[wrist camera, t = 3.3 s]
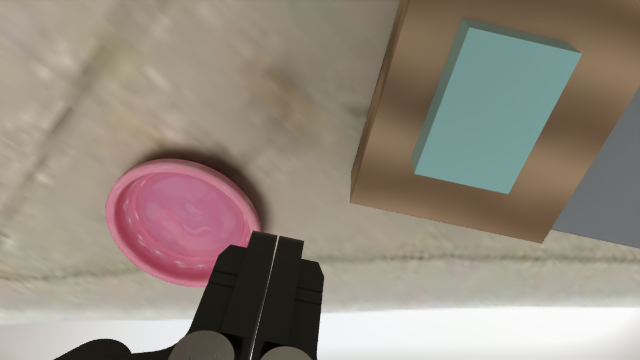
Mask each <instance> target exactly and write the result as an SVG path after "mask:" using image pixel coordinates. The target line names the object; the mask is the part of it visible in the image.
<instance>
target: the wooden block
mask: <svg viewBox="0 0 640 360" xmlns="http://www.w3.org/2000/svg"><path fill="white" fill-rule="evenodd" d="M462 18H466V19H470V20H474V21H479V22H483V23H487V24H491V25H496V26H500V27H504V28H509V29H513V30H517V31H521V32H526V33H530V34H534V35H539V36H543V37H547V38H551V39H556V40H560V41H564V42H568V43H569V44H571V45H572V46H573V47H574V48H576V49H577V50H578V51H580V52H581V53H582V55H581V57H580V59H579V61H578V63H577V65H576V67H575V69H574V71H573V72H572V74H571V76H570V78H569V80H568V82H567V84H566V86H565V88H564V90H563V91H562V93H561V95H560V97H559V99H558V101H557V103H556V105H555V107H554V109H553V110H552V112H551V114H550V116H549V118H548V120H547V122H546V124H545V126H544V127H543V129H542V131H541V133H540V135H539V137H538V139H537V141H536V143H535V145H534V146H533V148H532V150H531V152H530V154H529V156H528V158H527V160H526V162H525V164H524V165H523V167H522V169H521V171H520V173H519V175H518V177H517V179H516V181H515V183H514V184H513V186H512V188H511V190H510V192H509V194H505V193H500V192H496V191H491V190H486V189H482V188H477V187H473V186H468V185H463V184H459V183H454V182H450V181H445V180H440V179H436V178H431V177H427V176H422V175H417V174H414V170H413V164H412V158H411V157H412V155H413V152H414V149H415V146H416V144H417V141H418V138H419V135H420V133H421V130H422V127H423V124H424V122H425V119H426V116H427V113H428V111H429V108H430V105H431V102H432V100H433V97H434V94H435V91H436V89H437V86H438V83H439V80H440V78H441V75H442V72H443V69H444V67H445V64H446V61H447V58H448V56H449V53H450V50H451V47H452V45H453V42H454V39H455V36H456V34H457V31H458V28H459V25H460V23H461V20H462ZM639 86H640V0H401V1H400V4H399V8H398V11H397V15H396V18H395V22H394V25H393V29H392V32H391V36H390V39H389V43H388V46H387V50H386V53H385V57H384V60H383V64H382V67H381V71H380V74H379V78H378V81H377V85H376V88H375V92H374V95H373V99H372V102H371V106H370V109H369V113H368V116H367V120H366V123H365V127H364V130H363V134H362V137H361V141H360V144H359V148H358V151H357V155H356V158H355V162H354V165H353V169H352V172H351V192H350V203H354V204H359V205H363V206H368V207H373V208H377V209H382V210H387V211H391V212H396V213H401V214H406V215H410V216H415V217H420V218H424V219H429V220H434V221H438V222H443V223H448V224H452V225H457V226H462V227H466V228H471V229H476V230H481V231H485V232H490V233H495V234H499V235H504V236H509V237H513V238H518V239H523V240H527V241H532V242H537V243H541V244H542V242H543V241H544V239H545V238H546V236H547V234H548V233H549V231H550V230H551V228H552V226H553V225H554V223H555V221H556V220H557V218H558V217H559V215H560V213H561V212H562V210H563V209H564V207H565V205H566V204H567V202H568V201H569V199H570V197H571V196H572V194H573V192H574V191H575V189H576V188H577V186H578V184H579V183H580V181H581V180H582V178H583V176H584V175H585V173H586V172H587V170H588V168H589V167H590V165H591V164H592V162H593V160H594V159H595V157H596V155H597V154H598V152H599V151H600V149H601V147H602V146H603V144H604V143H605V141H606V139H607V138H608V136H609V135H610V133H611V131H612V130H613V128H614V126H615V125H616V123H617V122H618V120H619V118H620V117H621V115H622V114H623V112H624V110H625V109H626V107H627V106H628V104H629V102H630V101H631V99H632V98H633V96H634V94H635V93H636V91H637V89H638V88H639Z"/></svg>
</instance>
